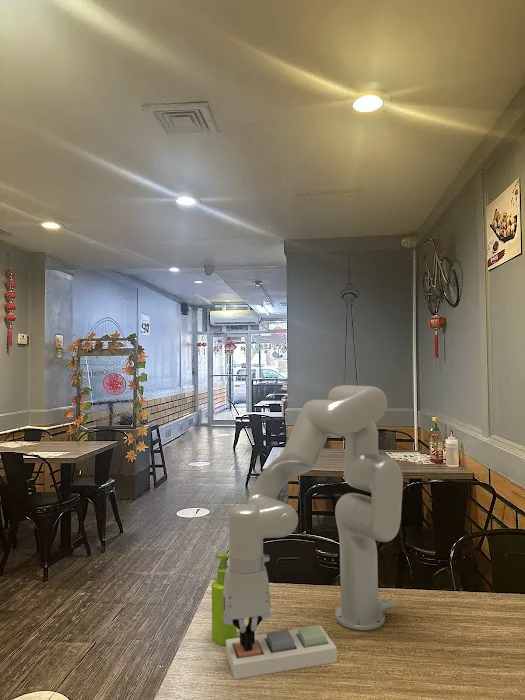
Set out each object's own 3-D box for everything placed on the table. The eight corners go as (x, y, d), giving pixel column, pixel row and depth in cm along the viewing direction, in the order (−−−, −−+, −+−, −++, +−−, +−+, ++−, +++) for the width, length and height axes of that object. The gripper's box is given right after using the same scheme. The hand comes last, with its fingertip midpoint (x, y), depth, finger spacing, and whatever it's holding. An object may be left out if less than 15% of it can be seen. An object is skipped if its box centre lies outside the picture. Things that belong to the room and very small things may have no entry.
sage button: (318, 633, 116) (318, 625, 116) (326, 645, 111) (326, 636, 111) (298, 636, 115) (297, 628, 115) (305, 648, 110) (305, 639, 110)
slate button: (287, 638, 114) (287, 629, 114) (294, 650, 109) (294, 641, 110) (266, 641, 113) (266, 632, 113) (272, 653, 108) (272, 644, 108)
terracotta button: (256, 648, 112) (256, 639, 112) (261, 661, 108) (261, 651, 108) (234, 652, 111) (234, 643, 111) (238, 664, 106) (238, 655, 106)
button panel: (320, 638, 119) (320, 625, 119) (337, 661, 109) (336, 647, 109) (226, 653, 113) (225, 639, 113) (234, 679, 103) (234, 664, 104)
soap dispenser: (237, 646, 116) (236, 559, 116) (209, 644, 117) (208, 557, 118) (243, 633, 121) (242, 550, 122) (216, 631, 123) (215, 549, 124)
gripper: (274, 553, 116) (275, 633, 115) (210, 560, 112) (211, 643, 111) (283, 565, 108) (284, 651, 108) (215, 573, 105) (216, 662, 104)
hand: (247, 647), depth 109 cm, fingers closed
